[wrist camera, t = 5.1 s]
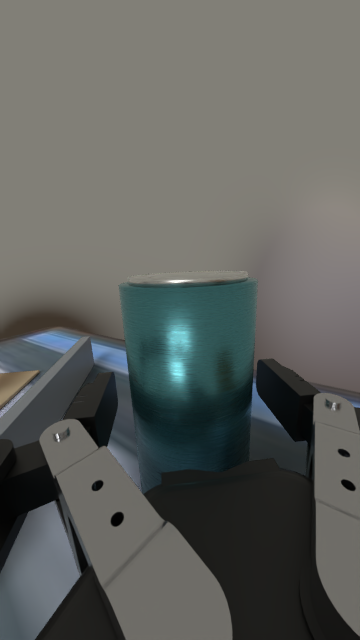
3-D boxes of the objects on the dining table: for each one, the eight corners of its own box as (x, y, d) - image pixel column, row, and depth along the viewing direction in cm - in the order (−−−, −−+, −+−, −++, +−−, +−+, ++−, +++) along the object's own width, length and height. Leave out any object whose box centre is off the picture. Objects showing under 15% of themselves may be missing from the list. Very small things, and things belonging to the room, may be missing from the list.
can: (139, 561, 10) (102, 283, 7) (145, 450, 15) (127, 274, 12) (267, 539, 10) (290, 274, 7) (227, 439, 16) (230, 269, 13)
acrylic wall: (-180, 756, 6) (-262, 678, 5) (86, 365, 29) (81, 337, 28) (-140, 747, 6) (-211, 668, 5) (94, 364, 29) (89, 336, 28)
